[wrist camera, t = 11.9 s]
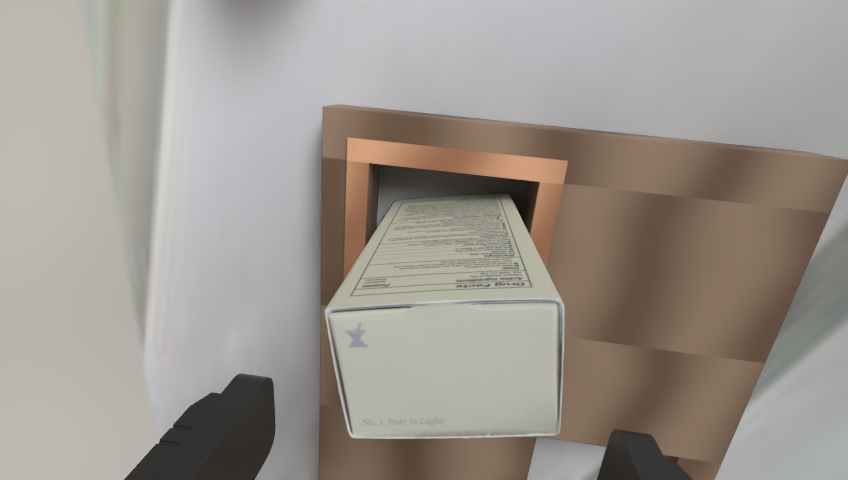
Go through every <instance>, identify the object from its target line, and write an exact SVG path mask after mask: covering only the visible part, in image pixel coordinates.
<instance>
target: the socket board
mask: <svg viewBox="0 0 848 480" xmlns="http://www.w3.org/2000/svg"><path fill="white" fill-rule="evenodd" d="M380 164H382V165H391V166H400V167H409V168H418V169H427V170H437V171H446V172H455V173H464V174H473V175H482V176H491V177H500V178H509V179H518V180H528V181H530V183H529V189H528V194H527V200H526V205H525V211H524V217H523V223H524V225H525V227H526V229H527V231H528V233H529V235H530V237H531V239H532V241H533V243H534V245H535V247H536V249H537V251H538V253H539V255H540V257H541V259H542V261H543V264H544V266H545V268H546V270H547V272H548V273H549V275H550V278H551V280H552V282H553V284H554V286H555V288H556V290H557V292H558V294H559V295H560V297H561V299H562V301H563V303H564V360H563V387H562V407H561V428H560V433H559V434H557V435H554V436H538V437H545V438H551V439H558V440H565V441H572V442H579V443H585V444H592V445H599V446H606V447H607V444H608V441H609V438H610V435H611V433H612V431H613V430H614V429H618V430H625V431H632V432H639V433H646V434H650V435H652V436H653V437H654V439H655V441H656V442H657V444H658V446H659V448H660V450H661V452H662V454H663V456H664V458H665V460H666V462H671V463H678V465H679V466H680V467H681V468H682V469H683V470H684V471H685V472H686V473H687V474H688V475H689V476H690V477H691V478H692V479H693V480H714V479H715V477H716V475H717V473H718V470H719V468H720V466H721V463H722V461H723V459H724V457H725V454H726V452H727V450H728V447H729V445H730V443H731V440H732V438H733V436H734V434H735V431H736V429H737V427H738V424H739V422H740V420H741V417H742V415H743V413H744V411H745V408H746V406H747V404H748V401H749V399H750V397H751V394H752V392H753V390H754V388H755V385H756V383H757V381H758V378H759V376H760V374H761V372H762V369H763V367H764V365H765V362H766V360H767V358H768V355H769V353H770V351H771V349H772V346H773V344H774V342H775V339H776V337H777V335H778V332H779V330H780V328H781V326H782V323H783V321H784V319H785V316H786V314H787V312H788V309H789V307H790V305H791V303H792V300H793V298H794V296H795V293H796V291H797V289H798V286H799V284H800V282H801V280H802V277H803V275H804V273H805V270H806V268H807V266H808V264H809V261H810V259H811V257H812V254H813V252H814V250H815V247H816V245H817V243H818V241H819V238H820V236H821V234H822V231H823V229H824V227H825V224H826V222H827V220H828V218H829V215H830V213H831V211H832V208H833V206H834V204H835V201H836V199H837V197H838V195H839V192H840V190H841V188H842V185H843V183H844V181H845V179H846V176H847V174H848V160H846V159H841V158H835V157H830V156H825V155H820V154H815V153H809V152H801V151H791V150H782V149H772V148H762V147H752V146H742V145H732V144H723V143H713V142H703V141H693V140H683V139H673V138H664V137H654V136H644V135H634V134H624V133H614V132H605V131H595V130H585V129H575V128H565V127H555V126H545V125H536V124H526V123H516V122H506V121H496V120H486V119H477V118H467V117H457V116H447V115H437V114H427V113H418V112H408V111H398V110H388V109H378V108H368V107H359V106H349V105H331V106H324V107H323V121H322V228H321V335H320V443H319V480H527V476H528V472H529V468H530V463H531V459H532V455H533V450H534V446H535V442H536V437H537V436H533V437H494V438H446V439H442V438H433V439H424V438H422V439H419V438H417V439H371V438H352V437H351V436H350V435H349V434H348V431H347V426H346V422H345V417H344V413H343V409H342V405H341V400H340V395H339V391H338V384H337V379H336V374H335V369H334V364H333V357H332V353H331V346H330V341H329V336H328V329H327V322H326V318H325V312H324V311H325V309H326V307H327V306H328V304H329V303H330V301H331V300H332V298H333V296H334V295H335V293H336V292H337V290H338V289H339V287H340V286H341V284H342V283H343V281H344V279H345V278H346V276H347V275H348V273H349V272H350V270H351V268H352V267H353V265H354V264H355V262H356V260H357V259H358V257H359V256H360V254H361V252H362V251H363V250H364V248H365V246H366V245H367V243H368V242H369V240H370V239H371V237H372V235H373V234H374V232H375V231H376V226H377V208H378V190H379V172H380Z"/></svg>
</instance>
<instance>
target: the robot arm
mask: <svg viewBox="0 0 848 480" xmlns="http://www.w3.org/2000/svg"><path fill="white" fill-rule="evenodd" d="M274 436H275V408H274V387H273V381H272V379H271V378H268V377H261V376H254V375H247V374H238V375H237V376H235V378H234V379H233V380H232V381H231V382H230V383H229V385H228V386H227V387H226V388H225V389H224V391H223V392H222V393H221V394H218V393H210V394H209V395H207V396H205V397H204V398H202V399H201V400H199V401H198V402H196V403H194V404H193V405H191V406H190V407H189V408H188V409H187V410H186V411H185V412H184V413H183V415H182V416H181V417H180V418H179V419H178V420H177V421H176V422H175V424H174V425H173V428H170V429H169V430H168V431H167V432H166V434H165V435H164V436H163V437H162V438H161V439H160V442H159V444H156V445H155V446H154V447H153V448H152V449H151V450H150V451H149V453H148V454H147V455H146V456H145V457H144V458H143V459H142V461H141V462H140V463H139V464H138V465H137V466H136V467H135V468H134V469H133V470H132V472H131V473H130V474H129V475H128V476H127V477H126V478H125V479H124V480H255V478H256V476H257V474H258V472H259V471H260V469H261V467H262V465H263V464H264V462H265V460H266V458H267V456H268V455H269V452H270V450H271V447H272V444H273V440H274ZM597 480H693V479H692V478H691V477H690V476H689V475H688V474H687V473H686V472H685V471H684V470H683V469H682V468H681V467H680V466H679V465H678V463H671V462H666V460H665V458H664V456H663V454H662V452H661V450H660V448H659V446H658V444H657V442H656V441H655V439H654V437H653V436H652V435H650V434H646V433H639V432H632V431H625V430H618V429H614V430H613V431H612V433H611V435H610V438H609V441H608V444H607V448H606V451H605V455H604V458H603V461H602V465H601V468H600V472H599V475H598V479H597Z"/></svg>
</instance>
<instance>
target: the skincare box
mask: <svg viewBox="0 0 848 480" xmlns="http://www.w3.org/2000/svg"><path fill="white" fill-rule="evenodd" d="M324 312H325V318H326V322H327V329H328V336H329V341H330V346H331V353H332V357H333V364H334V369H335V374H336V379H337V384H338V391H339V395H340V400H341V405H342V409H343V413H344V417H345V422H346V426H347V431H348V434H349V435H350V436H351V437H352V438H371V439H417V438H419V439H422V438H424V439H433V438H442V439H446V438H494V437H533V436H554V435H557V434H559V433H560V428H561V407H562V387H563V360H564V303H563V301H562V299H561V297H560V295H559V294H558V292H557V290H556V288H555V286H554V284H553V282H552V280H551V278H550V275H549V273H548V272H547V270H546V268H545V266H544V264H543V261H542V259H541V257H540V255H539V253H538V251H537V249H536V247H535V245H534V243H533V241H532V239H531V237H530V235H529V233H528V231H527V229H526V227H525V225H524V223H523V221H522V219H521V216H520V214H519V212H518V210H517V208H516V206H515V204H514V202H513V200H512V198H511V196H510V195H509V194H480V195H462V196H446V197H431V198H418V199H407V200H397V201H394V202H393V204H392V206H391V207H390V208H389V210H388V212H387V213H386V215H385V217H384V218H383V220H382V222H381V223H380V224H379V226H378V228H377V229H376V231H375V232H374V234H373V235H372V237H371V239H370V240H369V242H368V243H367V245H366V246H365V248H364V250H363V251H362V252H361V254H360V256H359V257H358V259H357V260H356V262H355V264H354V265H353V267H352V268H351V270H350V272H349V273H348V275H347V276H346V278H345V279H344V281H343V283H342V284H341V286H340V287H339V289H338V290H337V292H336V293H335V295H334V296H333V298H332V300H331V301H330V303H329V304H328V306H327V307H326V309H325V311H324Z"/></svg>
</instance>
